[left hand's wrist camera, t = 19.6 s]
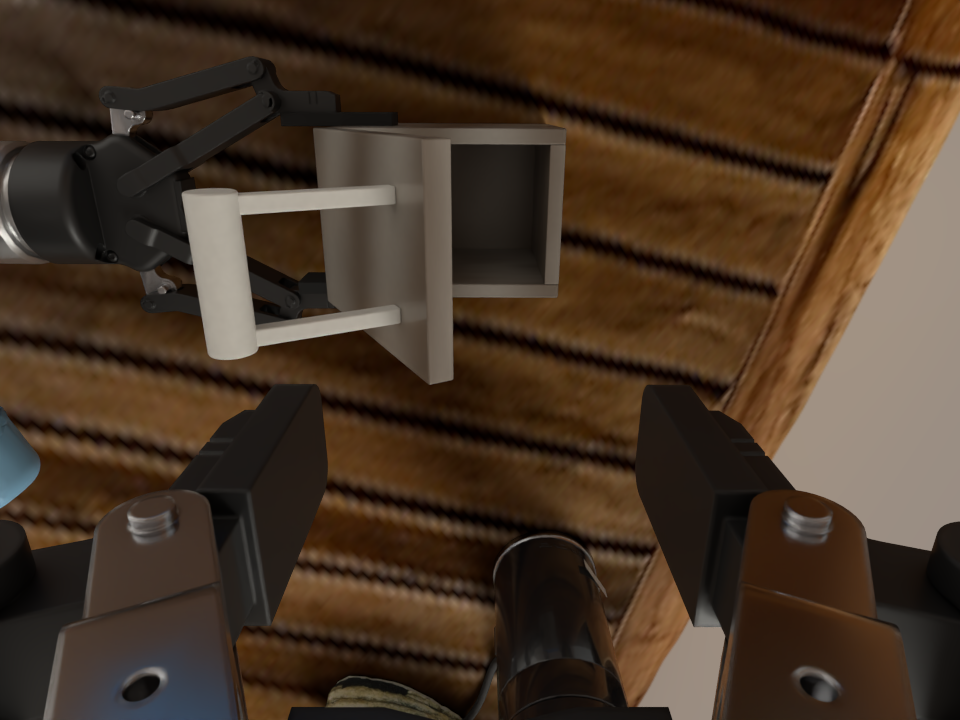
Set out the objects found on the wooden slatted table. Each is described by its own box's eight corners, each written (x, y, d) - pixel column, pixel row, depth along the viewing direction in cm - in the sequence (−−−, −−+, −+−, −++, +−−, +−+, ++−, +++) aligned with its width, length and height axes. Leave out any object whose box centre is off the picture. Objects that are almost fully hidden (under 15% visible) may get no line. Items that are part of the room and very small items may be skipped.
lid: (451, 137, 23) (182, 142, 19) (454, 380, 26) (228, 429, 22) (334, 127, 34) (149, 129, 30) (346, 298, 37) (183, 321, 33)
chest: (546, 123, 44) (566, 128, 34) (541, 257, 48) (557, 298, 38) (361, 122, 44) (325, 127, 34) (369, 256, 48) (339, 296, 38)
